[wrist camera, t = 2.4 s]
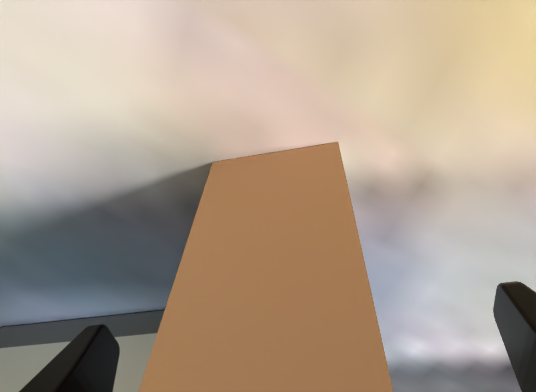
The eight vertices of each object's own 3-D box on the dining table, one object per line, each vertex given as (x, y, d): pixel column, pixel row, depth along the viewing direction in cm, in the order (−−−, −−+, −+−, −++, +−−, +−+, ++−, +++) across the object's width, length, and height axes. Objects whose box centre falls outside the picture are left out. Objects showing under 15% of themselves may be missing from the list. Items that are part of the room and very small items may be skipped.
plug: (337, 141, 11) (416, 497, 4) (352, 263, 13) (415, 607, 7) (212, 161, 11) (102, 504, 5) (249, 275, 14) (210, 604, 7)
